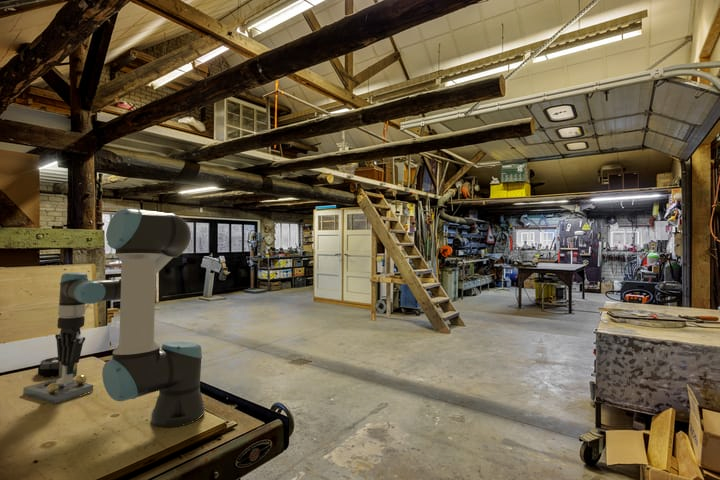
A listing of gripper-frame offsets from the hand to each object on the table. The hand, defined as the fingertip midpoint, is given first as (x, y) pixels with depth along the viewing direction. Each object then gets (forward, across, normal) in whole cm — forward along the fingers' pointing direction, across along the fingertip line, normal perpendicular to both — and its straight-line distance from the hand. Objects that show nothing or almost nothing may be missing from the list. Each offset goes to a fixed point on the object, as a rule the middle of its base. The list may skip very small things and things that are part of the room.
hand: (66, 382), depth 127 cm
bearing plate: (+4, +4, 0) cm, 6 cm away
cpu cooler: (+5, +28, -12) cm, 31 cm away
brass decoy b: (0, 0, +5) cm, 5 cm away
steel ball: (0, +3, 0) cm, 3 cm away
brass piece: (0, 0, -4) cm, 4 cm away
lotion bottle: (+5, +20, -12) cm, 24 cm away
